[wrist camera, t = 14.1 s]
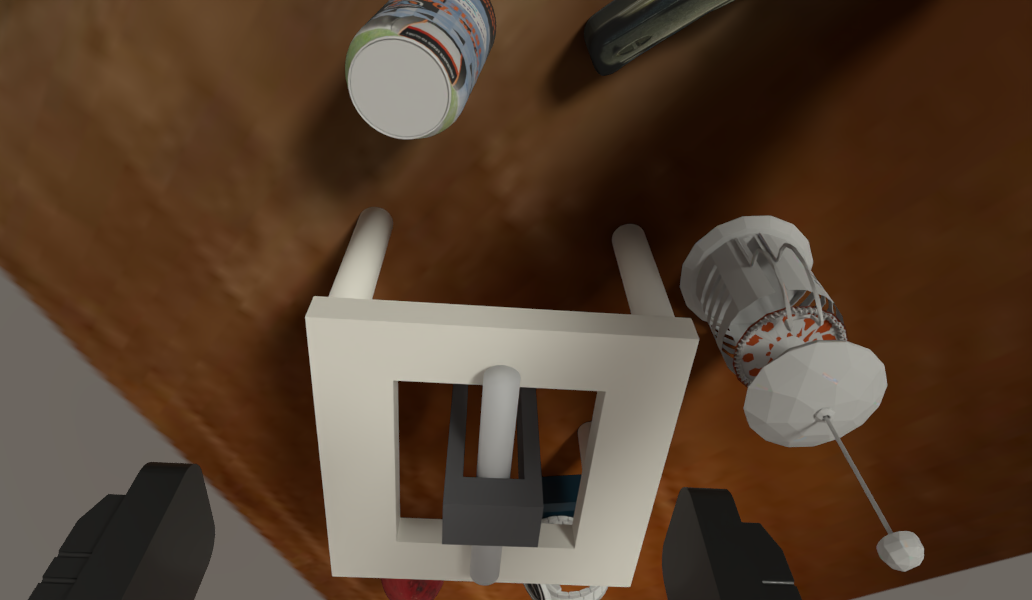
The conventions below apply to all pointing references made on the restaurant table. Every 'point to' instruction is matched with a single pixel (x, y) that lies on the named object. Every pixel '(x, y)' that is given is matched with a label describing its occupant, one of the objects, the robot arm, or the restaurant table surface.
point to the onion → (411, 588)
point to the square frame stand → (493, 415)
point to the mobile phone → (638, 28)
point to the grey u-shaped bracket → (493, 485)
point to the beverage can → (418, 64)
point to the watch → (561, 510)
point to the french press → (787, 345)
